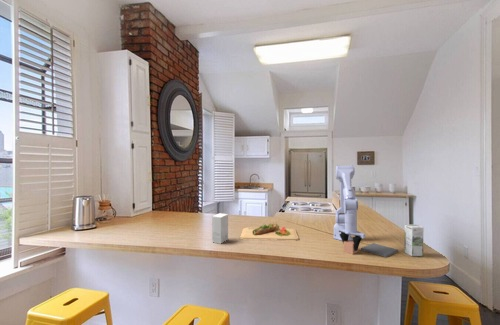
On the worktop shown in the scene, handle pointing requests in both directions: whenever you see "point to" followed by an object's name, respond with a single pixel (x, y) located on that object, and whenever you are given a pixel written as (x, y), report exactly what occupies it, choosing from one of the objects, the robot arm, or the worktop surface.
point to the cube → (349, 247)
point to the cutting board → (269, 233)
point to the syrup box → (414, 240)
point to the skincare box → (219, 228)
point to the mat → (379, 250)
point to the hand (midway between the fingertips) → (350, 249)
